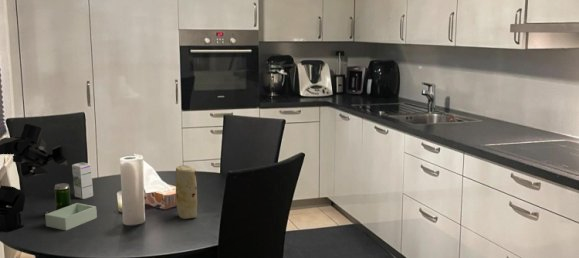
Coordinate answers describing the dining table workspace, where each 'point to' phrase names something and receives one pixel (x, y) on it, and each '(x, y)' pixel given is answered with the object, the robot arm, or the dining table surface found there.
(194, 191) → the food model
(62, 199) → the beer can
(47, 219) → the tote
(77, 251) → the dining table surface
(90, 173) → the syrup box
